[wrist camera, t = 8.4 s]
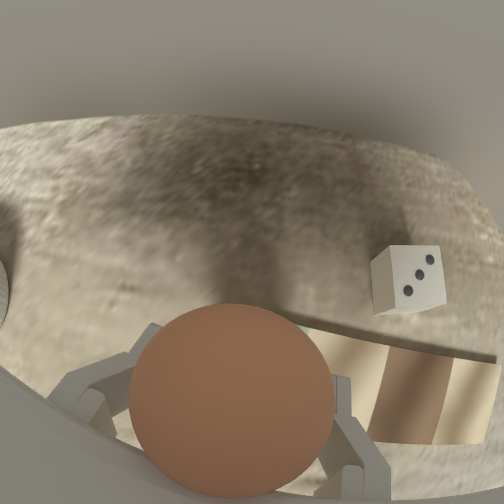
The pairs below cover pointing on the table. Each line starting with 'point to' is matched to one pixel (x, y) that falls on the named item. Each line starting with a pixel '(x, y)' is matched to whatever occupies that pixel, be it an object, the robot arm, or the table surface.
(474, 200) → the table surface
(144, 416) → the round-topped peg
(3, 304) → the ramekin
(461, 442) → the board
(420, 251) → the die
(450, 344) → the table surface
